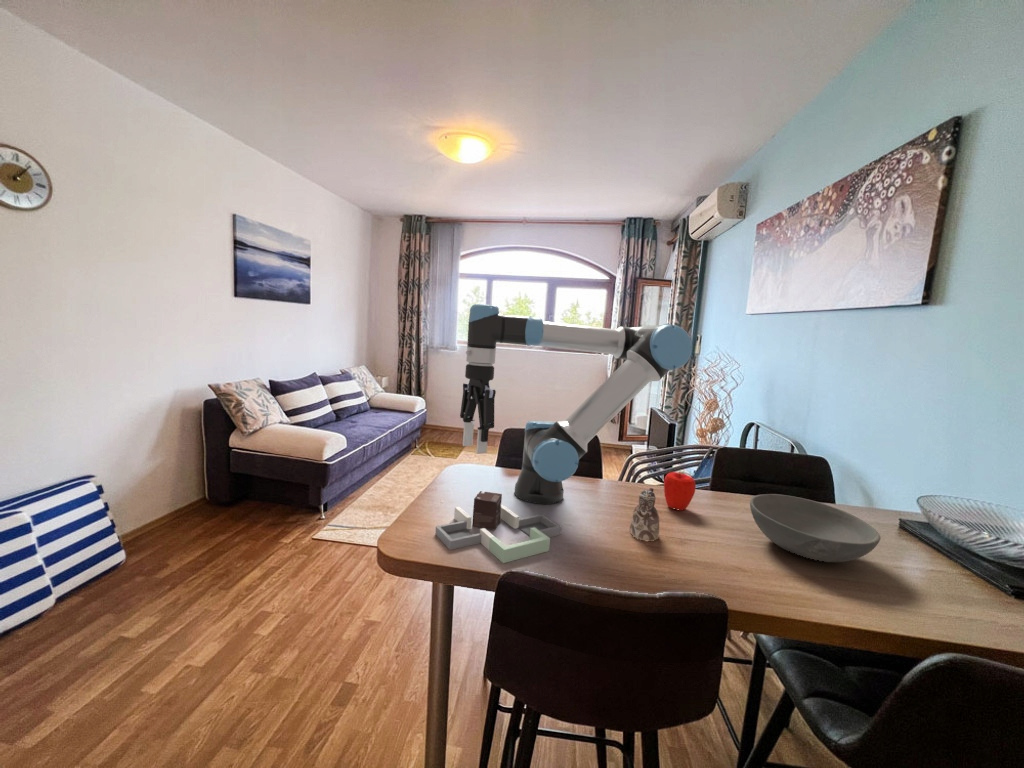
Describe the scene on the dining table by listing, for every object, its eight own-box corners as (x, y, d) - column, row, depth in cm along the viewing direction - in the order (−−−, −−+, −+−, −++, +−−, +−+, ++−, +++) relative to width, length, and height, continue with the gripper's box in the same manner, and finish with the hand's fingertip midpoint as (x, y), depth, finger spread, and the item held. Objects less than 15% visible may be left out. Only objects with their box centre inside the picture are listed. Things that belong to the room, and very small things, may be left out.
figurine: (624, 533, 107) (629, 488, 106) (637, 526, 112) (642, 483, 111) (650, 544, 102) (656, 497, 101) (662, 536, 108) (668, 491, 106)
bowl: (844, 540, 113) (850, 505, 112) (897, 594, 89) (905, 549, 87) (737, 520, 122) (741, 487, 121) (757, 564, 97) (763, 523, 96)
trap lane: (518, 506, 119) (519, 496, 119) (574, 543, 100) (575, 531, 99) (425, 523, 104) (426, 512, 104) (470, 572, 84) (471, 558, 84)
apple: (694, 507, 129) (698, 473, 128) (689, 516, 122) (694, 480, 121) (664, 500, 134) (668, 467, 133) (658, 508, 126) (662, 473, 125)
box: (494, 530, 103) (497, 502, 102) (471, 526, 104) (473, 498, 104) (500, 520, 109) (502, 493, 108) (478, 517, 110) (480, 490, 109)
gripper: (450, 360, 116) (445, 441, 119) (486, 367, 100) (480, 461, 102) (474, 361, 120) (469, 439, 123) (513, 368, 104) (506, 458, 106)
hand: (474, 449), depth 112 cm, fingers open, 7 cm apart
